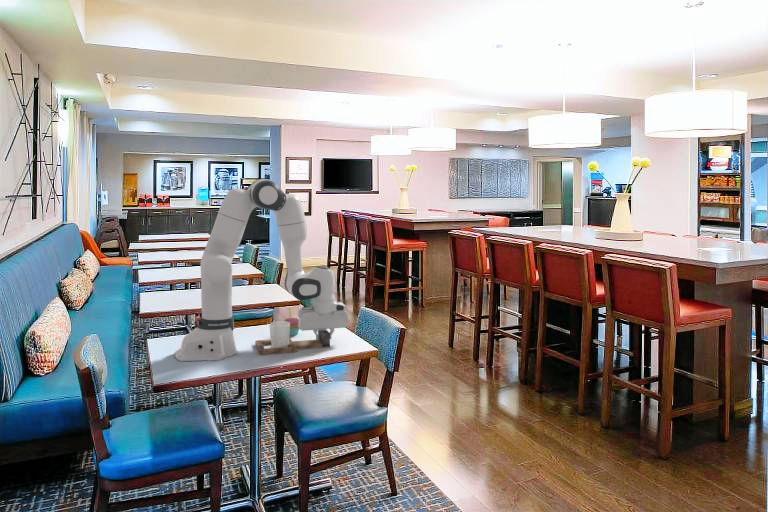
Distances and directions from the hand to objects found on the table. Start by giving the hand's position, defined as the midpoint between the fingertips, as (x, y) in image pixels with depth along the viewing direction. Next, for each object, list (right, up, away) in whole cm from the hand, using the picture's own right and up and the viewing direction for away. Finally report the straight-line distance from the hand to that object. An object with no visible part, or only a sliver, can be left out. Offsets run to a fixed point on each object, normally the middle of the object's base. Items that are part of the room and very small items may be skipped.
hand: (323, 339), depth 234 cm
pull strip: (-11, -2, -4) cm, 12 cm away
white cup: (-17, -3, -6) cm, 18 cm away
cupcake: (-15, 0, +14) cm, 20 cm away
